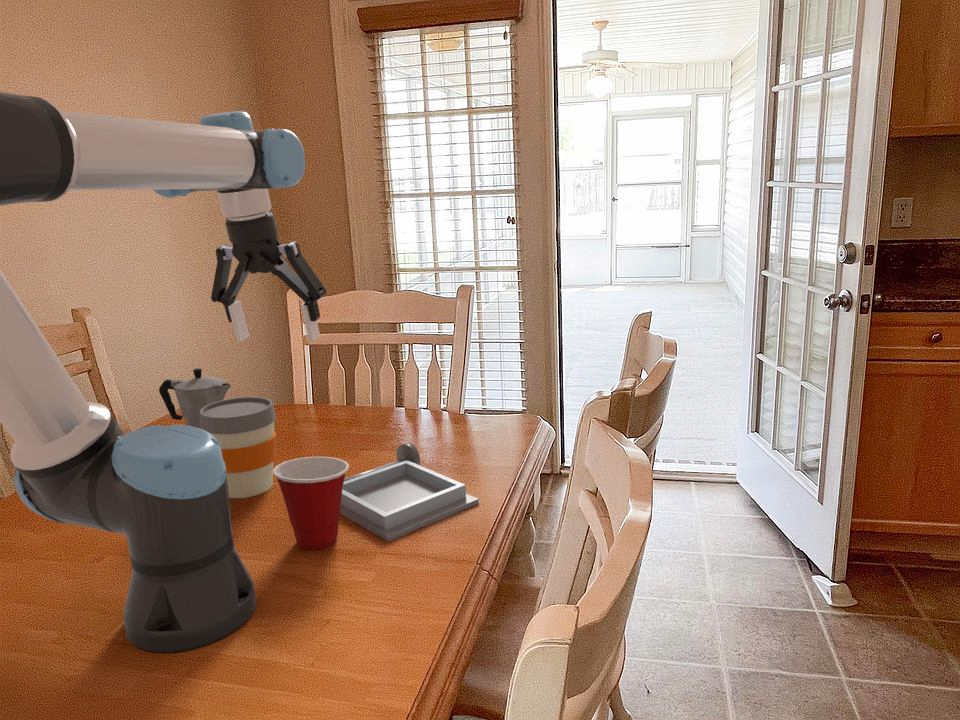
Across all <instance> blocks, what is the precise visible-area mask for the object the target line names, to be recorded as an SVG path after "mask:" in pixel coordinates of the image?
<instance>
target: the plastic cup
mask: <svg viewBox="0 0 960 720" xmlns="http://www.w3.org/2000/svg"><path fill="white" fill-rule="evenodd" d="M349 468H350V464H349V463H348V462H347V461H346V460H343V459H340V458H337V457H331V456H330V457H329V456H307V457H299V458H298V457H297V458H294V459H290V460H285V461H283V462H282V463H279V464H277V465H275V467H273V475H274V477H275V479H277V483H278V486H279V488H280V491H281V494H282V496H283V497H282V498H283V500H284V504H285V508H286V511H287V515H288V519H289V521H290V524H291V527H292V530H293V533H294V537H295V540H296V542H297V544H298V547H300V548H301V549H303V550H308V551H316V550H323V549H326V548H329V547H330V546H332V545H333V544H334V543H336V541H337V538H338V534H339V525H340V524H339V523H340V522H339V521H340V517H341V514H340V509H341V499H342V488H343V484H344V479H345V478H346V474H347V472H348V470H349Z"/></svg>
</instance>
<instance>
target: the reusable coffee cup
mask: <svg viewBox="0 0 960 720" xmlns="http://www.w3.org/2000/svg"><path fill="white" fill-rule="evenodd" d="M274 408H275V407H274V404H273V401H272V399H269V398H266V397H262V396H261V397H260V396H240V397H233V398H227V399H223V400H222V401H218V402H214V403H211V404H209V405H207V406H205V407H203V408H202V409H201V410H200V429H203V430H205V431H207V432H209V433H210V434H212V435H213V436H214V437H215V438H216V439H217V441H218V442H219V445H220V447H221V452H222V457H223V460H224V462H225V465H226V471H227V472H226V476H227V485H228V495H229V499H245V498H246V499H247V498H250V497H251V498H252V497H255V496H258V495H261V494H264V493H266V492H268V491H269V490H270V489H271V488H272V487H273V483H274V480H273V479H274V476H273V475H274V473H273V469H274V461H275V460H276V458H277V457H276V456H277V455H276V454H277V453H276V452H277V432H276V430H275V421H276V419H277V417H276V412H275V409H274Z"/></svg>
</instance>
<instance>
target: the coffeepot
mask: <svg viewBox="0 0 960 720" xmlns="http://www.w3.org/2000/svg"><path fill="white" fill-rule="evenodd" d="M202 371H203V370H202V368H195V369H193V370H192V372H193V376H194V377H193V378H190V379H187V380H183V379H165V380H164V381H163V382H162V383H161V385H160V386H159V389H158V391H159V395H160V397H161V398H162V400H163V403H164V405H165V406H166V407H165V408H166V409H167V411H168V413H169V415H170V417H171V419H172V420H176V421H182V419H183V420H185V425H187V426H192V427H196V428H200V410H201V409H202V408H203V407H205V406H207V405H209V404H211V403H214V402H218V401H222V400H225V397H226V395H227V392H228V391H229V389H231V388H232V385H231V383H229V382H225V379H224V378H218V377H212V376H202ZM169 390H172V391H174V393H175V396H176V399H177V402H178V405H179V408H180V412H181V414H177V411H176V406H175V404H174V403H173V401H172V397H171V394H170V392H169Z"/></svg>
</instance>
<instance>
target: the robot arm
mask: <svg viewBox="0 0 960 720" xmlns="http://www.w3.org/2000/svg"><path fill="white" fill-rule="evenodd" d="M305 155H306V154H305V150H304V147H303V144H302V142H301V141H300V139H299V137H298V136H297V135H296V134H295V133H294V132H292V131H291V130H288V129H284V128H268V127H267V128H266V129H254V125H253V122H252V119H251V116H250V114H248V112H246V111H243V110H238V111H237V110H236V111H235V110H233V111H225V112H217V113H212V114H207V115H203V116H201V117H200V119H199V124H196V123H184V122H177V121H175V122H174V121H166V120H155V119H146V118H134V117H125V116H115V115H109V114H108V115H107V114H106V115H105V114H97V113H87V112H85V113H84V112H76V111H74V112H73V111H67V110H60V109H59V108H58V106H57V105H55V104H54V103H53V102H51V101H49V100H48V99H46V98H44V97H38V96H32V95H31V96H30V95H24V94H18V93H17V94H15V93H10V92H5V91H4V92H3V91H0V207H2V206H7V205H15V204H22V203H24V204H25V203H42V202H54V201H57V200H59V199H61V198H62V197H64V196H65V195H66V194H67V193H68V192H69V191H70V192H72V191H73V192H74V191H76V192H77V191H79V192H80V191H124V190H125V191H127V190H128V191H134V190H135V191H136V190H137V191H139V190H142V191H144V190H145V191H146V190H147V191H149V190H150V191H153V192H155V194H157V195H159V196H160V197H163V198H170V199H171V198H177V197H186V196H187V195H188V194H191V193H196V192H214V191H215V192H217V196H218V197H217V198H218V202H219V204H220V206H219V207H220V208H221V214H222V216H223V217H224V218H226V220H225V223H224V224H225V228H226V233H227V236H228V239H229V242H230V243H231V244H232V246H230V245H229V244H226V243H225V244H223V245H221V246H220V247H218V248H217V247H216V249H215V255H216V256H215V257H216V262H217V263H216V266H215V267H216V268H215V273H214V278H213V284H212V290H211V296H210V298H211V299H210V300H211V302H213V303H216V302H218V303H221V304H222V305H223V306H224V310H225V314H226V317H227V318H226V319H227V320H228V322H229V323H232V327H233V330H234V334H235V338H236V341H237V343H241V342H243V341H244V340H246V339H247V338H249V337H250V332H249V328H248V325H247V321H246V316H245V312H244V309H243V305H242V301H241V300H237V299H238V296H239V293H240V291H241V290H242V288H243V285H244V283H245V281H246V279H247V277H248V275H249V273H250V274H257V273H262V274H268V273H271V274H272V275H274V276H276V277H277V278H279V279H280V280H281V281H282V282H283V283H284V284H285V285H286V286H287V287H288V288H289V289H291V291H292V292H293V293H295V294H296V295H297V296H298V297H299V298H300V299H301V300H302V301H303V302H302V303H301V304H300V308H301V312H302V317H303V322H304V326H305V331H306V334H307V339H308V342H309V343H310V342H311V343H312V342H314V341H316V340H317V339H318V338H319V337H320V336H321V333H320V329H319V325H318V320H319V319H320V317H321V314H320V312H321V311H320V309H319V303H318V301H319V300H320V299H322V298H323V297H324V296H326V294H327V289H326V288H325V286H324V285H323V283H322V282H321V281H320V279H319V278H318V276H317V275H316V273H315V272H314V271H313V268H311V266H310V264H308V261H306V259H305V258H304V255H302V252H301V249H300V247H299V243H298V242H297V241H295V240H293V241H290V242H289V243H286V244H281V243H280V242H279V239H278V228H277V224H276V219H275V215H274V214H273V213H272V212H271V209H272V203H271V198H270V195H269V189H275V190H279V189H282V188H290V187H295V186H296V185H297V184H298V183H299V182H300V181H301V180H302V178H303V176H304V175H305V171H306V158H305V157H306V156H305ZM282 254H283V257H284V258H286V259H287V261H288V262H289V263H288V262H287V261H286V260H285V259H284V258H283V257H282ZM233 258H235V259H236V260H237V261H238V264H237V266H236V268H235V269H234V275H233V277H232V278H231V281H230V282H229V277H230V272H231V267H232V262H233ZM289 264H290V266H291V267H292V268H290V266H289ZM228 283H229V284H228ZM0 424H2V427H3V428H4V429H5V431H6V432H7V433H8V434H9V435H10V437H11V438H12V440H14V443H13V445H12V447H11V450H10V454H9V457H10V461H11V462H12V464H13V466H14V469H15V470H16V474H15V476H13V481H14V487H15V490H16V493H17V495H18V497H19V499H20V500H21V501H22V503H23V504H24V506H26V507H27V508H28V509H29V510H30V511H32V512H33V513H35V514H37V515H38V516H41V517H44V518H45V519H47V520H49V521H53V522H56V523H61V524H66V525H74V526H80V527H85V528H90V529H95V530H100V531H106V532H108V533H109V532H111V533H114V534H120V535H124V536H125V537H126V542H127V546H128V547H127V548H128V554H129V558H130V559H129V560H130V564H131V575H130V580H129V586H128V589H127V595H126V599H125V605H124V610H123V623H124V628H125V635H126V638H127V640H128V641H129V642H130V643H131V644H132V645H133V646H135V647H137V648H138V649H140V650H145V651H148V652H155V653H173V652H181V651H186V650H187V651H188V650H192V649H196V648H199V647H202V646H205V645H209V644H212V643H214V642H216V641H218V640H221V639H222V638H225V637H226V636H229V635H230V634H231V633H234V632H235V631H237V630H238V629H239V628H240V627H242V626H243V625H244V624H245V623H246V622H247V621H248V620H249V619H250V618H251V616H252V615H253V613H254V611H255V609H256V606H257V597H256V596H257V595H256V588H255V587H256V586H255V584H254V581H253V579H252V576H251V574H250V573H249V571H248V569H247V567H246V566H245V563H244V562H243V560H242V558H241V556H240V554H239V553H238V551H237V549H236V547H235V542H234V541H235V540H234V534H233V533H234V532H233V524H232V514H231V504H230V498H229V495H228V485H227V476H226V472H227V471H226V465H225V462H224V460H223V457H222V452H221V447H220V445H219V442H218V441H217V439H216V438H215V437H214V436H213V435H212V434H210V433H209V432H207V431H205V430H203V429H200V428H196V427H192V426H187V424H171V425H164V424H158V425H150V426H144V427H141V428H137V429H135V430H131V431H129V432H127V433H125V432H124V431H123V429H122V428H121V426H120V425H119V423H118V421H116V419H115V418H114V416H113V414H112V413H111V411H110V410H109V408H108V407H107V406H106V405H104V404H102V403H99V402H93V401H87V399H86V398H85V396H84V394H82V392H81V390H80V388H79V387H78V385H76V383H75V381H74V380H73V379H72V377H71V375H70V374H69V371H68V370H67V369H66V368H65V366H64V365H63V363H62V362H61V360H60V359H59V356H58V355H57V353H56V352H55V351H54V349H53V348H52V347H51V345H50V343H49V341H48V340H47V338H46V336H45V335H44V334H43V332H42V331H41V330H40V328H39V327H38V325H37V323H36V322H35V321H34V318H33V317H32V315H31V314H30V313H29V311H28V310H27V308H26V307H25V304H24V303H23V302H22V300H21V299H20V298H19V296H18V295H17V293H16V292H15V290H14V289H13V287H12V285H11V283H10V282H9V280H8V279H7V277H6V276H5V275H4V273H3V272H2V270H1V269H0Z"/></svg>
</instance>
